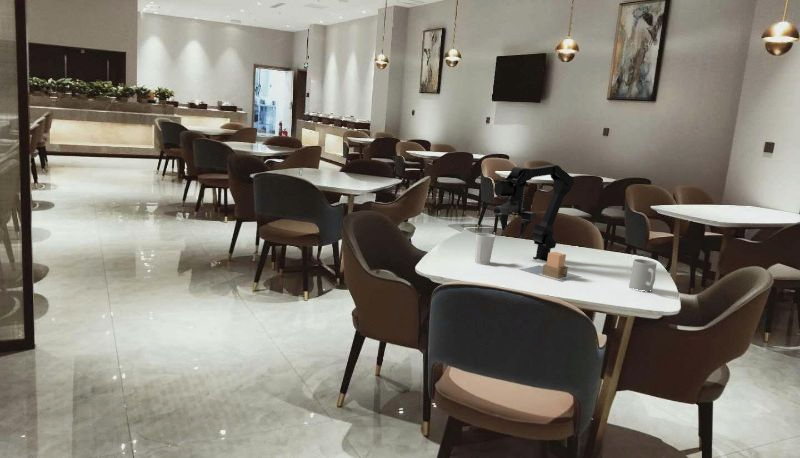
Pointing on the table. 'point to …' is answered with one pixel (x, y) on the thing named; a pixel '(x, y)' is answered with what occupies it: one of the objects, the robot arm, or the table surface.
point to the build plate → (538, 271)
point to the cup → (484, 248)
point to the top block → (556, 259)
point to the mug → (643, 274)
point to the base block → (554, 271)
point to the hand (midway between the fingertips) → (512, 232)
